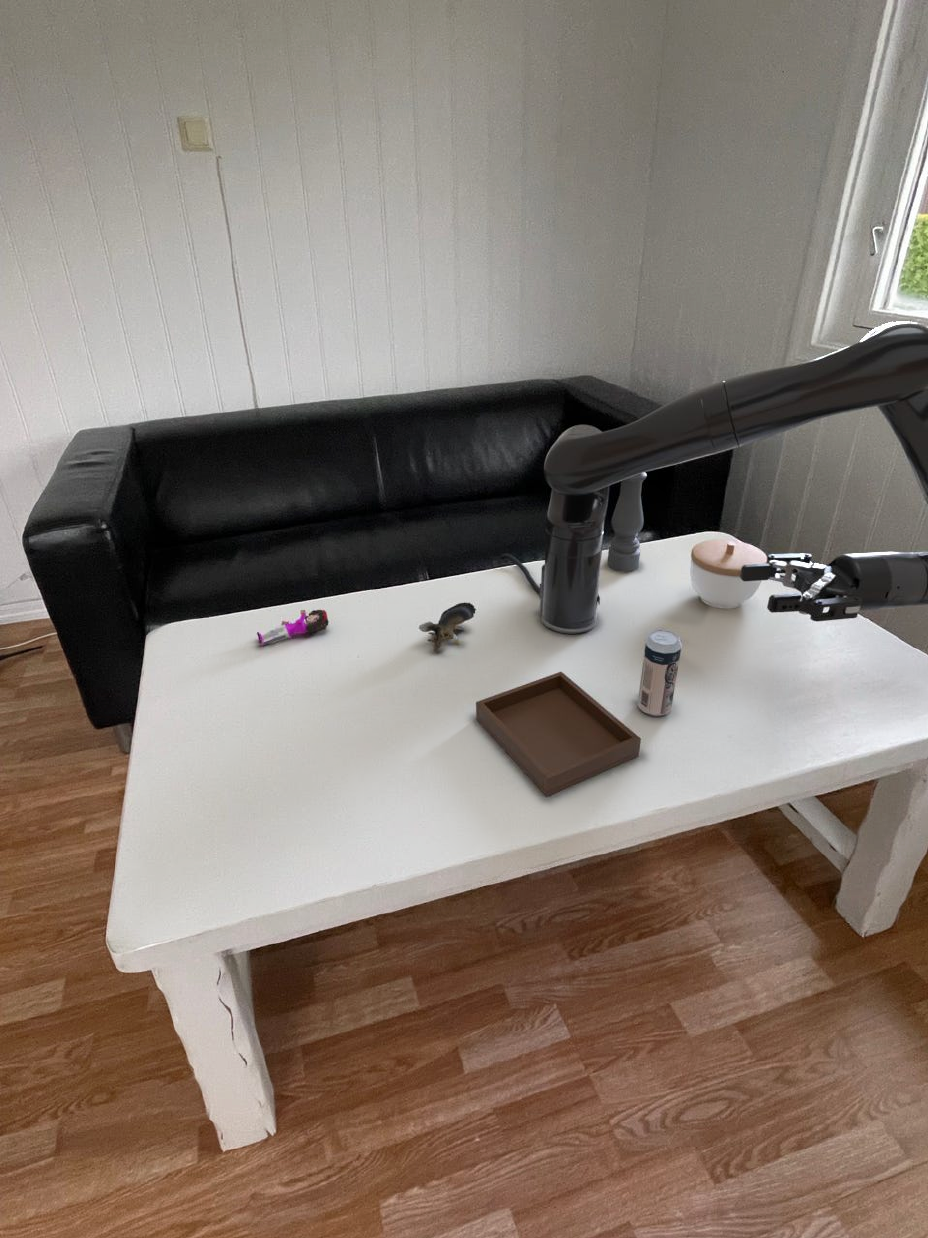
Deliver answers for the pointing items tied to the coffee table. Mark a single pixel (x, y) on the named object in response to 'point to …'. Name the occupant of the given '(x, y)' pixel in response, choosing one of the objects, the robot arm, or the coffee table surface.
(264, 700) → the coffee table surface
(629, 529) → the candle holder
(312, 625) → the character figurine
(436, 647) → the brown irregular figure
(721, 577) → the lidded bowl
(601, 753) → the tray
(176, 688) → the coffee table surface
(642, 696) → the beer can
